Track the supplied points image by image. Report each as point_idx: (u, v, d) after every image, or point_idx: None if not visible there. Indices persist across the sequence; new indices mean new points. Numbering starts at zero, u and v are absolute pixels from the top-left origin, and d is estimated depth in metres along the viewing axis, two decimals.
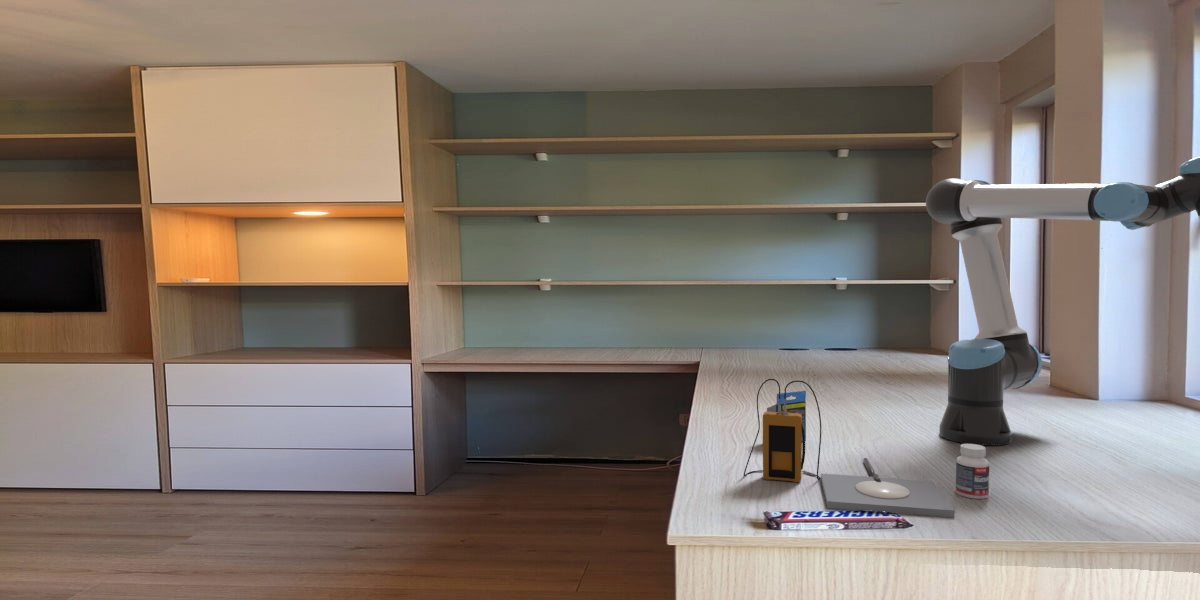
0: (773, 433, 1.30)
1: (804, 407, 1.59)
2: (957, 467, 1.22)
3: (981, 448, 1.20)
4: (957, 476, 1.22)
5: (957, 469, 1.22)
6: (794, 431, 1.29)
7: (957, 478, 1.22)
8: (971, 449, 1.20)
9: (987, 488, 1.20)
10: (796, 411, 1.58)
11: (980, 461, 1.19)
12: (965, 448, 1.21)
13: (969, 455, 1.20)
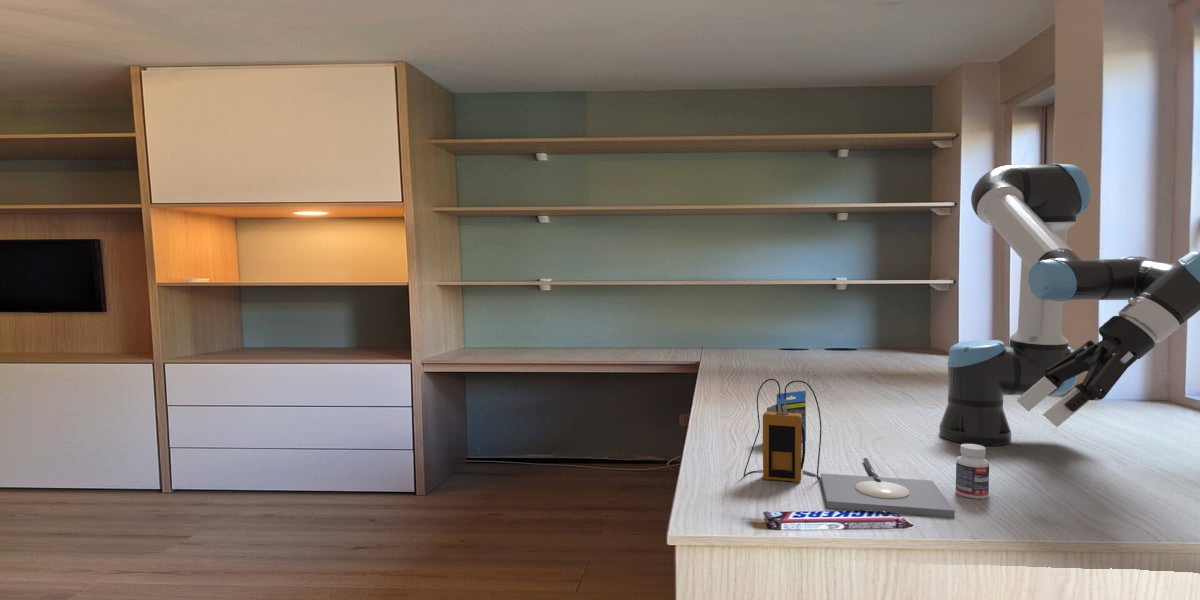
0: (773, 432, 1.30)
1: (804, 407, 1.59)
2: (957, 467, 1.22)
3: (981, 448, 1.20)
4: (957, 476, 1.22)
5: (957, 469, 1.22)
6: (794, 431, 1.29)
7: (957, 478, 1.22)
8: (971, 449, 1.20)
9: (987, 488, 1.20)
10: (796, 411, 1.58)
11: (980, 461, 1.19)
12: (965, 448, 1.21)
13: (969, 455, 1.20)
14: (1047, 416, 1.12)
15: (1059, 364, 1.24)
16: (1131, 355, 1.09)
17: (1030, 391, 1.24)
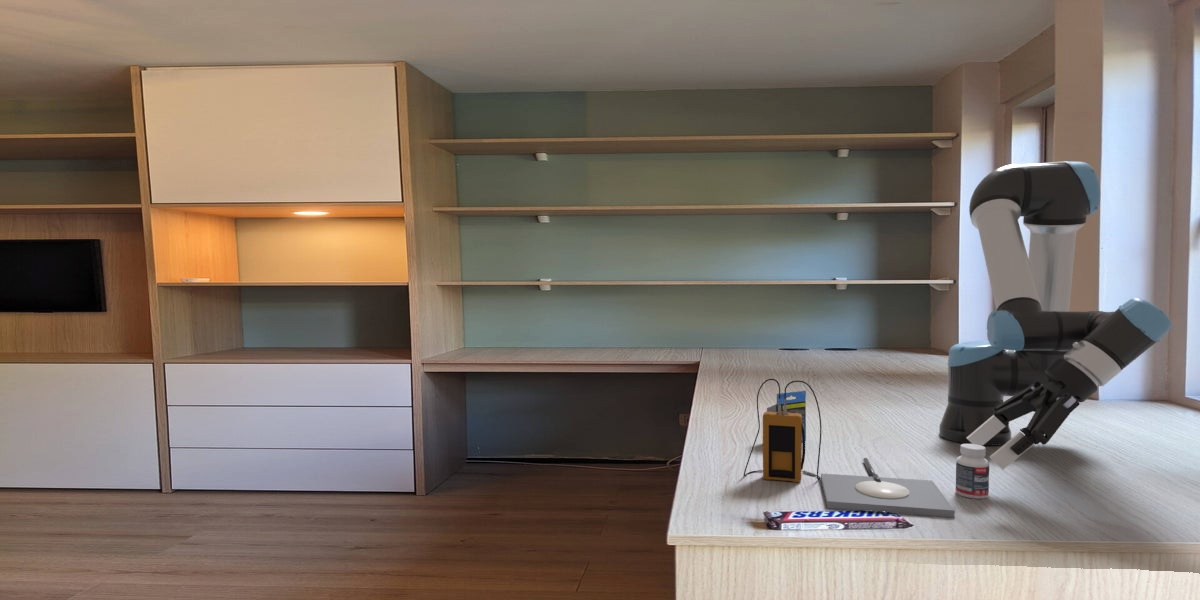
0: (773, 433, 1.30)
1: (804, 407, 1.59)
2: (957, 467, 1.22)
3: (981, 448, 1.20)
4: (957, 476, 1.22)
5: (957, 469, 1.22)
6: (794, 431, 1.29)
7: (957, 478, 1.22)
8: (971, 449, 1.20)
9: (987, 488, 1.20)
10: (796, 411, 1.58)
11: (980, 461, 1.19)
12: (965, 448, 1.21)
13: (969, 455, 1.20)
14: (993, 459, 1.14)
15: (1008, 403, 1.26)
16: (1074, 400, 1.11)
17: (980, 429, 1.26)
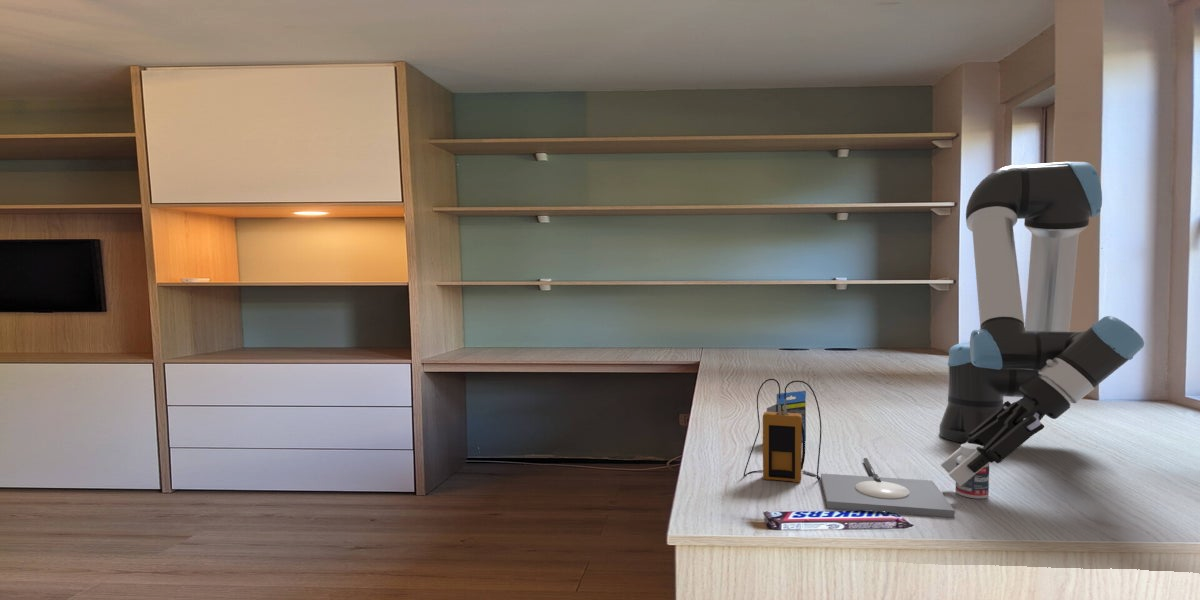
0: (773, 433, 1.30)
1: (804, 407, 1.59)
2: None
3: None
4: None
5: None
6: (794, 431, 1.29)
7: None
8: (971, 449, 1.20)
9: (987, 488, 1.20)
10: (796, 411, 1.58)
11: None
12: (965, 448, 1.21)
13: (969, 455, 1.20)
14: (951, 476, 1.19)
15: (982, 426, 1.25)
16: (1038, 424, 1.13)
17: (953, 456, 1.25)
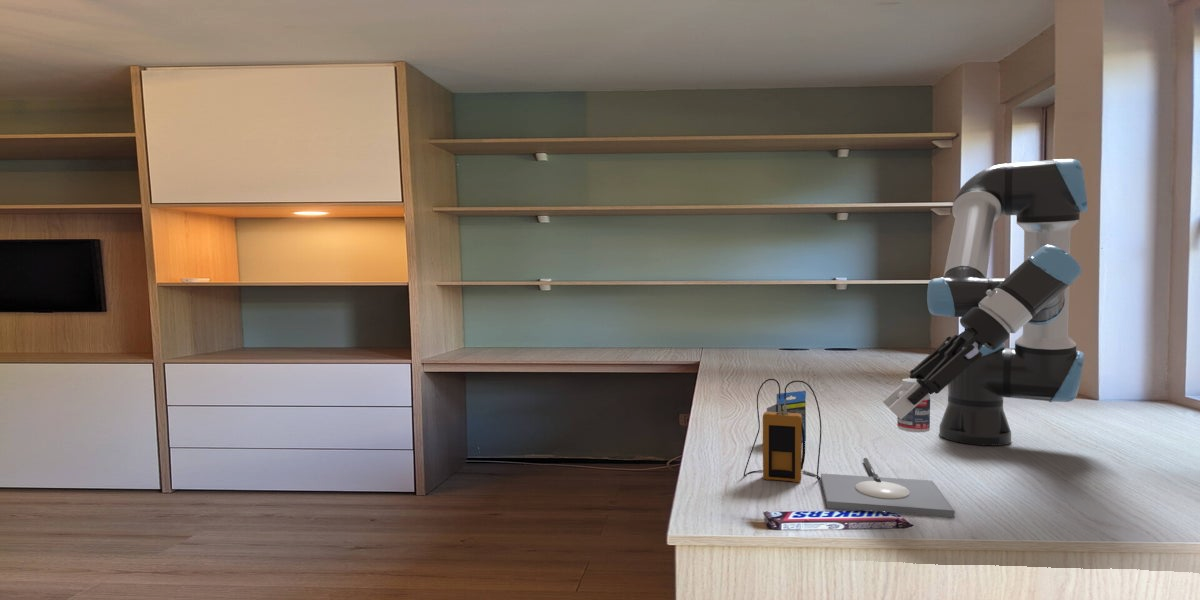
0: (773, 433, 1.30)
1: (804, 407, 1.59)
2: None
3: None
4: None
5: None
6: (794, 431, 1.29)
7: None
8: (912, 382, 1.18)
9: (928, 422, 1.18)
10: (796, 411, 1.58)
11: None
12: (906, 382, 1.19)
13: None
14: (892, 409, 1.17)
15: (925, 362, 1.24)
16: (976, 352, 1.11)
17: (895, 392, 1.23)
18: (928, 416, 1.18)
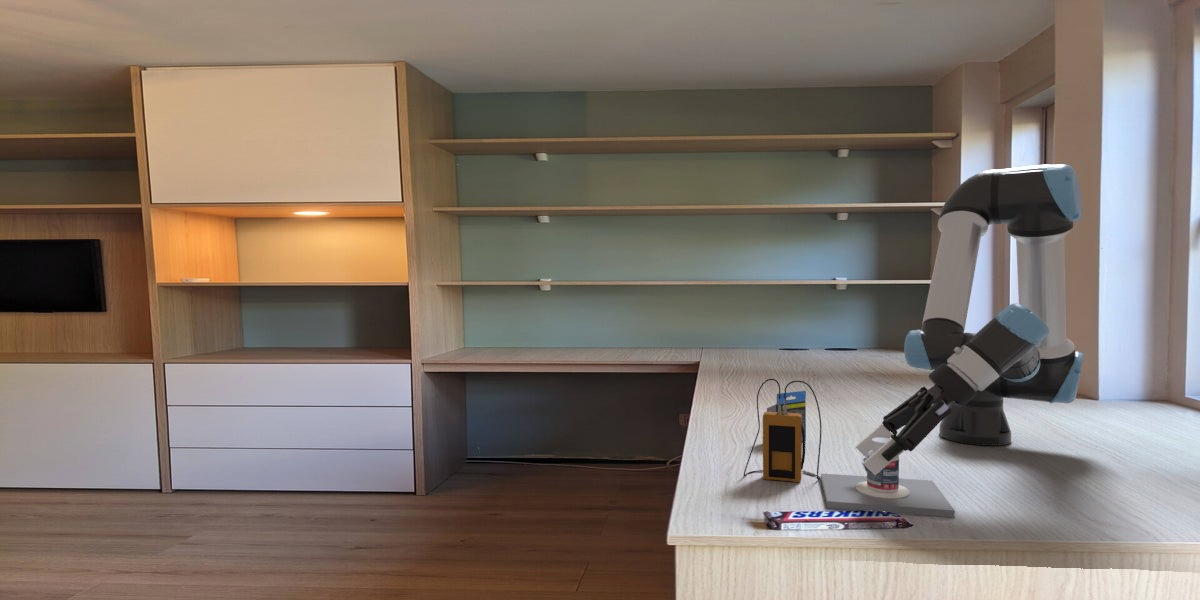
0: (773, 433, 1.30)
1: (804, 407, 1.59)
2: None
3: None
4: (868, 470, 1.21)
5: None
6: (794, 431, 1.29)
7: (868, 472, 1.21)
8: (880, 443, 1.19)
9: (896, 482, 1.19)
10: (796, 411, 1.58)
11: None
12: (875, 442, 1.20)
13: None
14: (866, 465, 1.16)
15: (897, 410, 1.26)
16: (946, 408, 1.11)
17: (868, 438, 1.26)
18: (896, 477, 1.19)
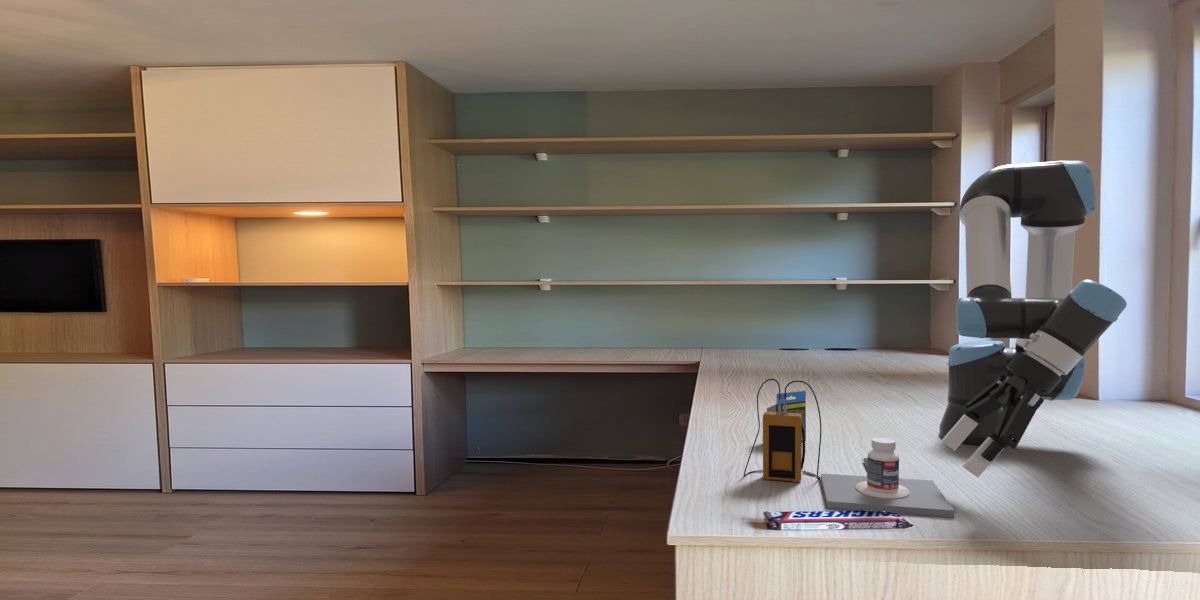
0: (773, 433, 1.30)
1: (804, 407, 1.59)
2: (868, 461, 1.21)
3: (891, 442, 1.19)
4: (868, 470, 1.21)
5: (868, 463, 1.21)
6: (794, 431, 1.29)
7: (868, 472, 1.21)
8: (880, 443, 1.19)
9: (896, 482, 1.19)
10: (796, 411, 1.58)
11: (889, 455, 1.18)
12: (875, 442, 1.20)
13: (879, 449, 1.19)
14: (966, 468, 1.11)
15: (977, 399, 1.23)
16: (1038, 397, 1.08)
17: (953, 431, 1.23)
18: (896, 477, 1.19)
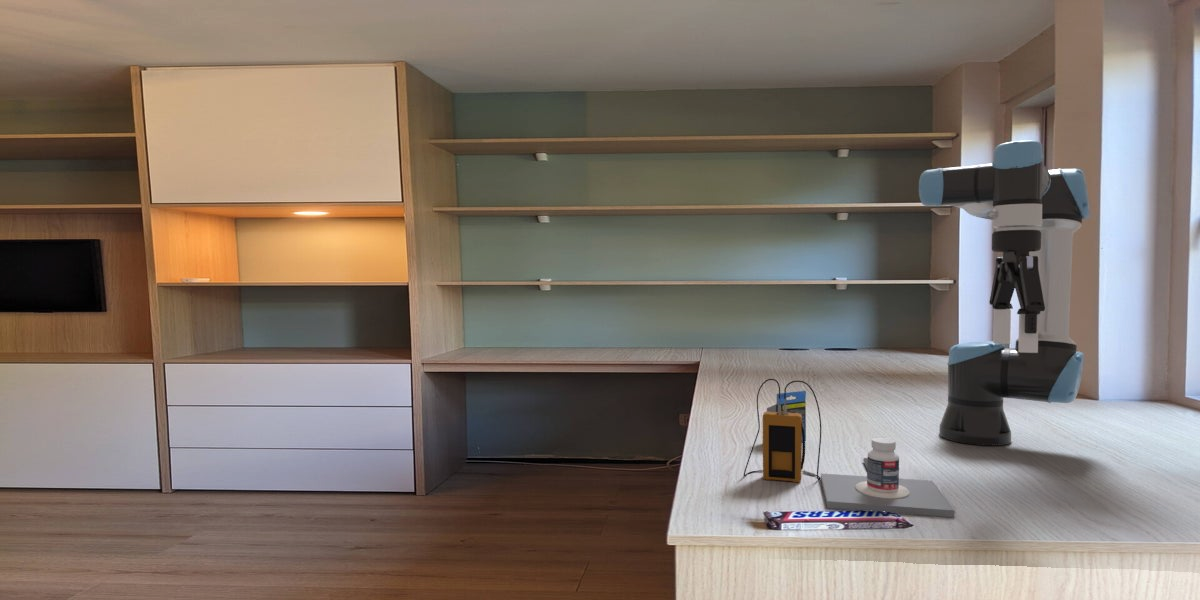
0: (773, 433, 1.30)
1: (804, 407, 1.59)
2: (868, 461, 1.21)
3: (891, 442, 1.19)
4: (868, 470, 1.21)
5: (868, 463, 1.21)
6: (794, 431, 1.29)
7: (868, 472, 1.21)
8: (880, 443, 1.19)
9: (896, 482, 1.19)
10: (796, 411, 1.58)
11: (889, 455, 1.18)
12: (875, 442, 1.20)
13: (879, 449, 1.19)
14: (1022, 351, 1.14)
15: (994, 290, 1.28)
16: (1031, 258, 1.13)
17: (996, 328, 1.27)
18: (896, 477, 1.19)
